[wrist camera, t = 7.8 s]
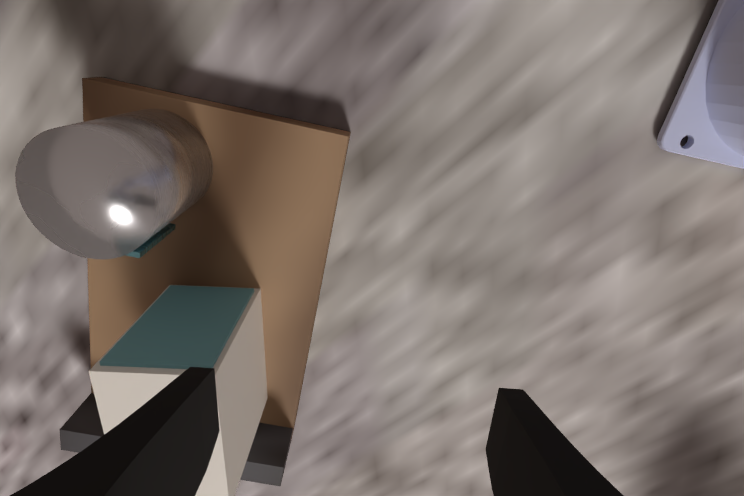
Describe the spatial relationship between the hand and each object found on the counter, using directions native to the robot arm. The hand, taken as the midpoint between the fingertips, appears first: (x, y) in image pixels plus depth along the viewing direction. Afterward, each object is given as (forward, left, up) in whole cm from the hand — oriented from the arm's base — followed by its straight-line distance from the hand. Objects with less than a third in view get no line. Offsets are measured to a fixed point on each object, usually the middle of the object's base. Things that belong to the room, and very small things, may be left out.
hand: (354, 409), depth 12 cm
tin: (+9, -3, -9) cm, 13 cm away
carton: (+6, +5, -9) cm, 12 cm away
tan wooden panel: (+7, +3, -10) cm, 12 cm away
